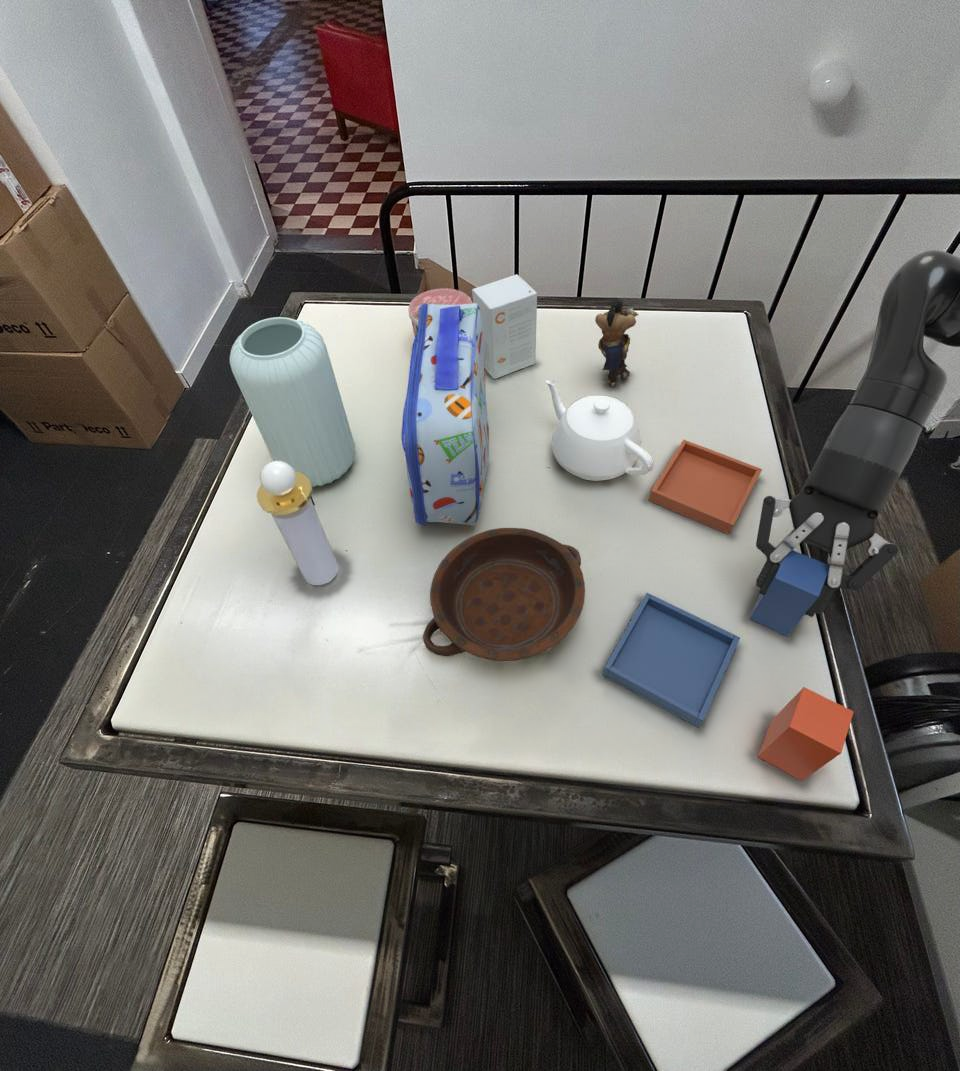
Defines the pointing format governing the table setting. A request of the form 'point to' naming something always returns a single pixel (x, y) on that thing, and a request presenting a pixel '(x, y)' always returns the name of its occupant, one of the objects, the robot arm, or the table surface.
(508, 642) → the dish
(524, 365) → the small box
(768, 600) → the blue block
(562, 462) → the teapot
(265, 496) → the perfume bottle
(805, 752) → the terracotta block
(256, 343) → the vase
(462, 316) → the lunch box
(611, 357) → the figurine
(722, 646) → the blue tray
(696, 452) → the terracotta tray
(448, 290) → the container
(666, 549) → the table surface
